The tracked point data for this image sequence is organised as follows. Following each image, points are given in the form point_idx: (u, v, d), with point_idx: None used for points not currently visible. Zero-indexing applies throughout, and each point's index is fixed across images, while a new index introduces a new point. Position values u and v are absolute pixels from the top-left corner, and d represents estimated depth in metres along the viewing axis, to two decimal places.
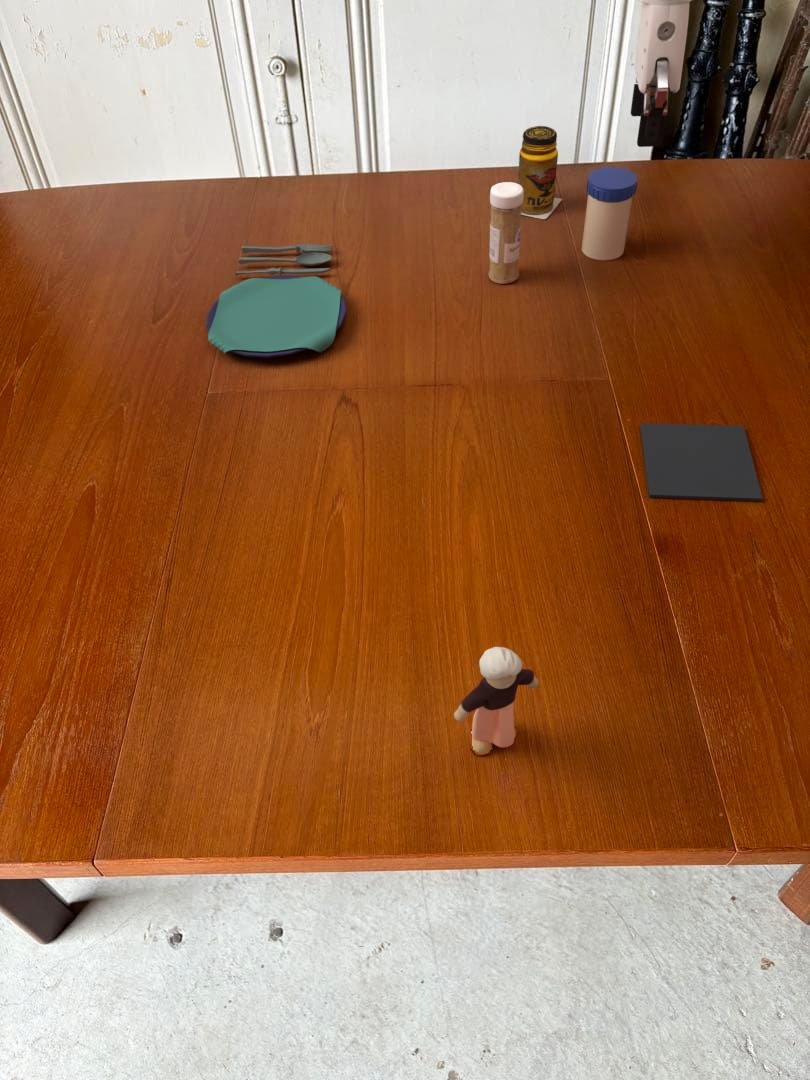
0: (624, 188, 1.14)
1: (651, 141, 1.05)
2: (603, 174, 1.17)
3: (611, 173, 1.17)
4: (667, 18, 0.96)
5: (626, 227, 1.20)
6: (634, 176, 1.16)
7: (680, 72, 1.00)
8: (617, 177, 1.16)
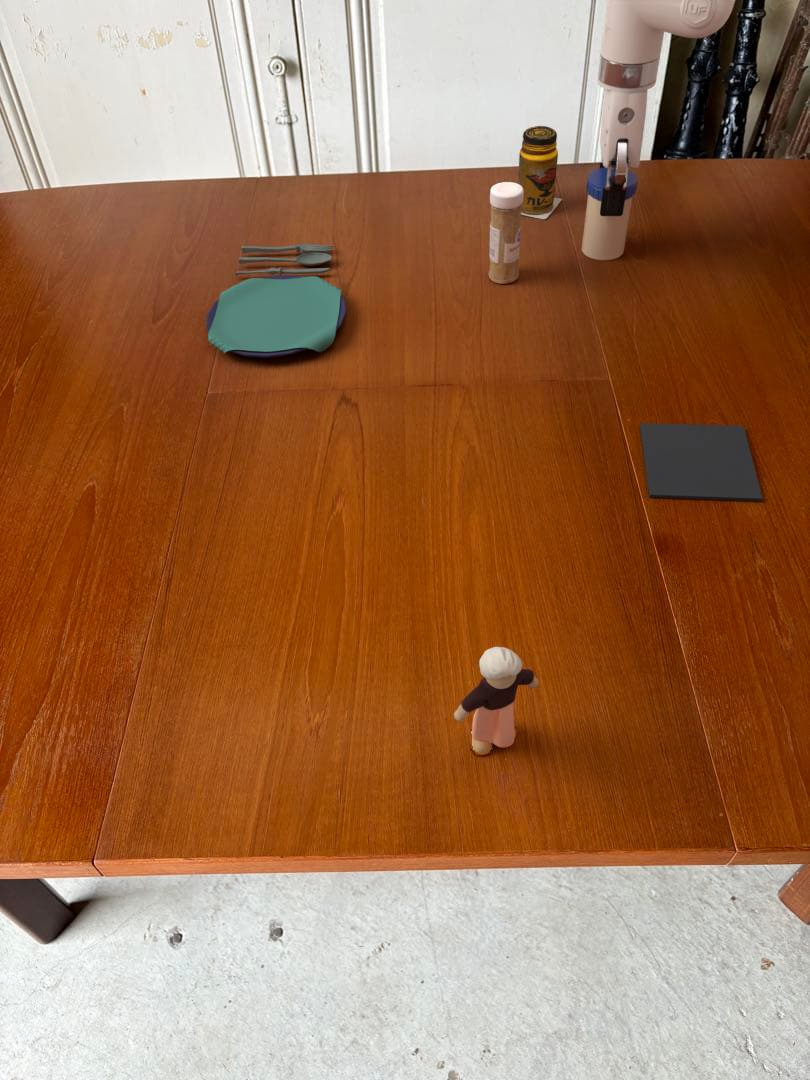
0: None
1: (612, 212, 1.15)
2: (603, 174, 1.17)
3: (611, 173, 1.17)
4: (627, 104, 1.05)
5: (626, 227, 1.20)
6: (634, 176, 1.16)
7: (639, 151, 1.09)
8: None
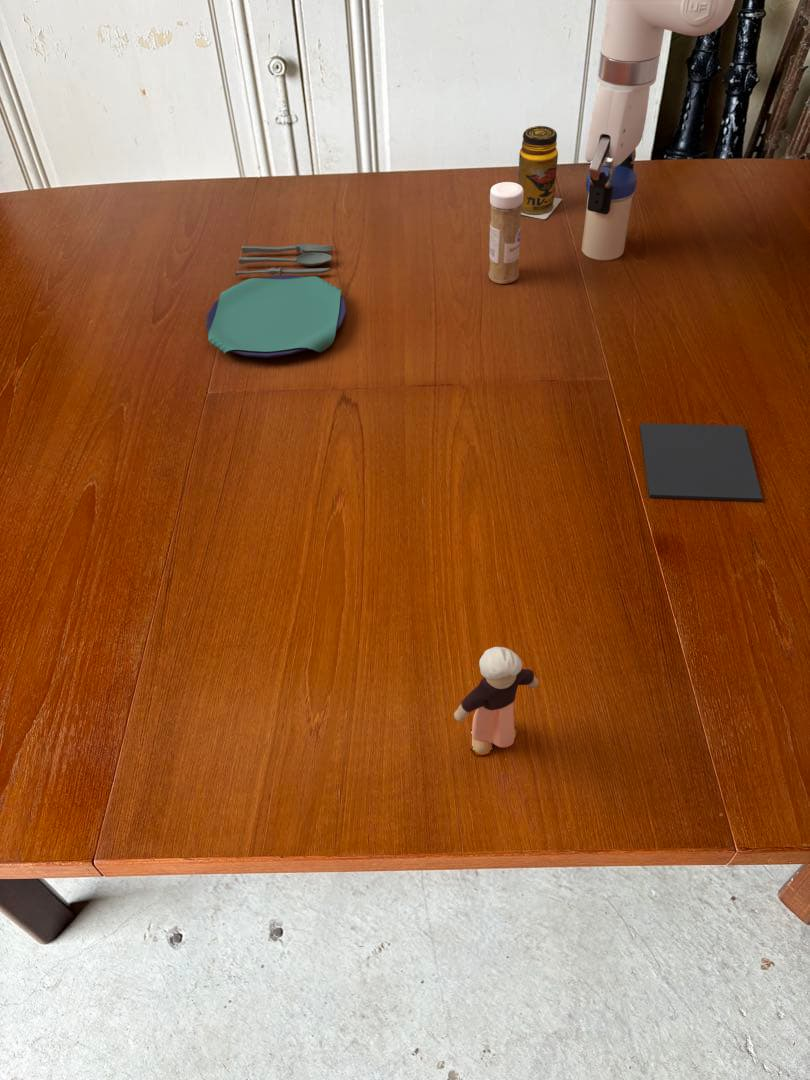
0: None
1: None
2: (617, 180, 1.15)
3: None
4: None
5: (626, 227, 1.20)
6: None
7: None
8: (607, 174, 1.17)
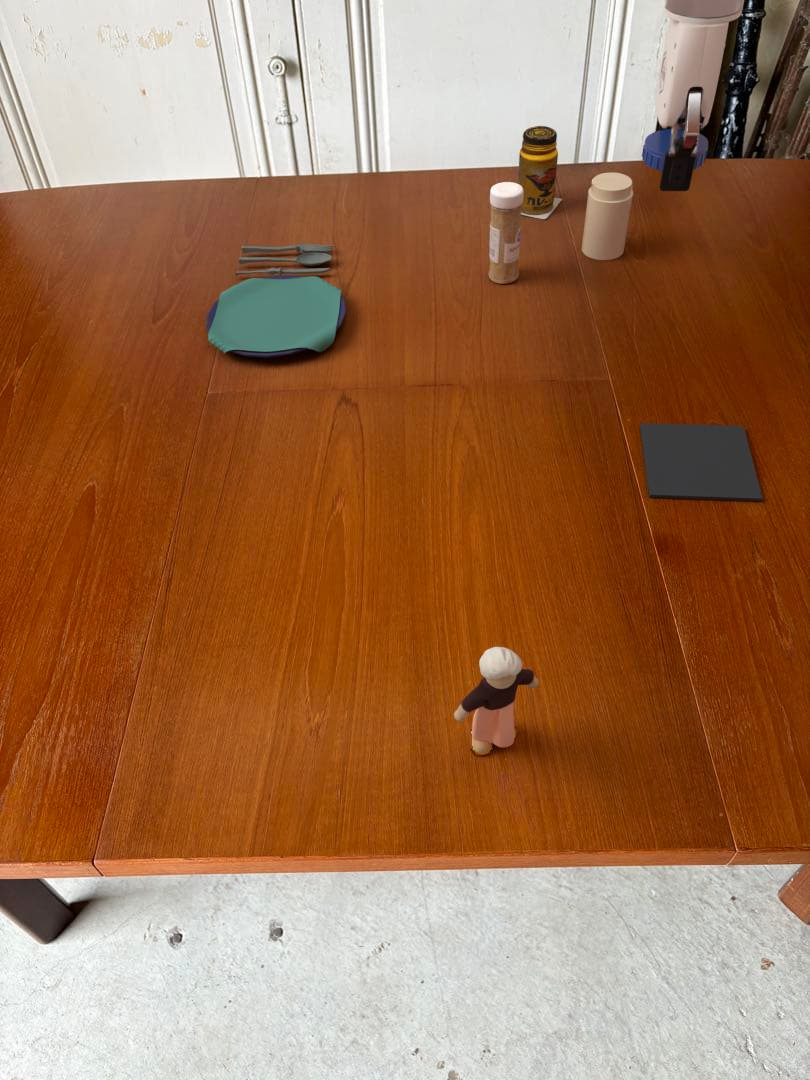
0: (660, 131, 0.94)
1: None
2: None
3: None
4: None
5: (626, 227, 1.20)
6: (648, 143, 0.91)
7: None
8: None
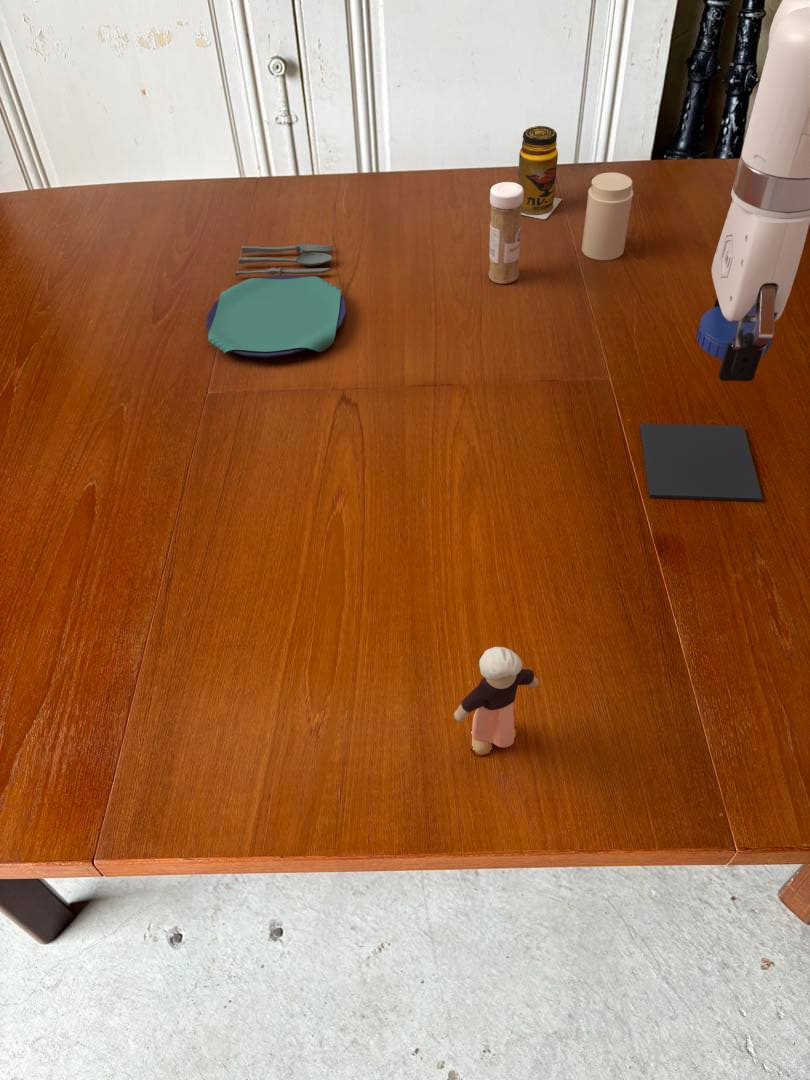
0: (717, 307, 0.82)
1: None
2: (752, 330, 0.79)
3: None
4: None
5: (626, 227, 1.20)
6: (705, 326, 0.79)
7: (719, 244, 0.78)
8: (729, 324, 0.79)
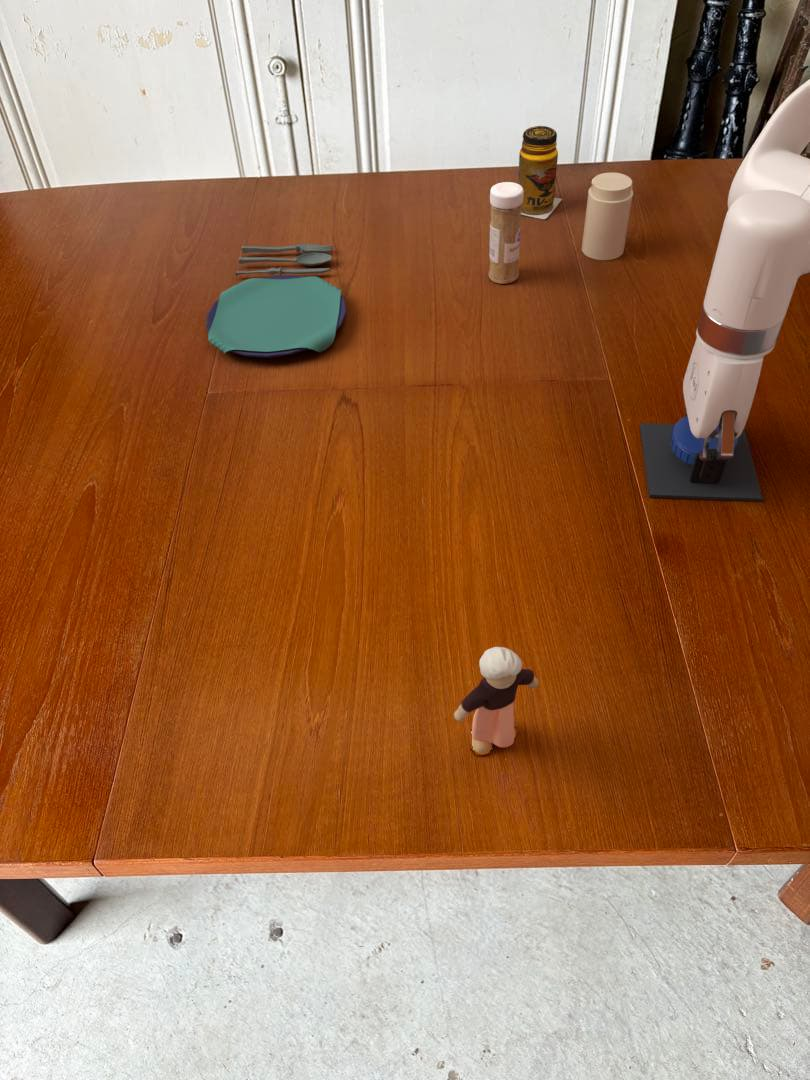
0: None
1: None
2: None
3: None
4: None
5: (626, 227, 1.20)
6: (677, 435, 0.90)
7: (689, 364, 0.89)
8: None
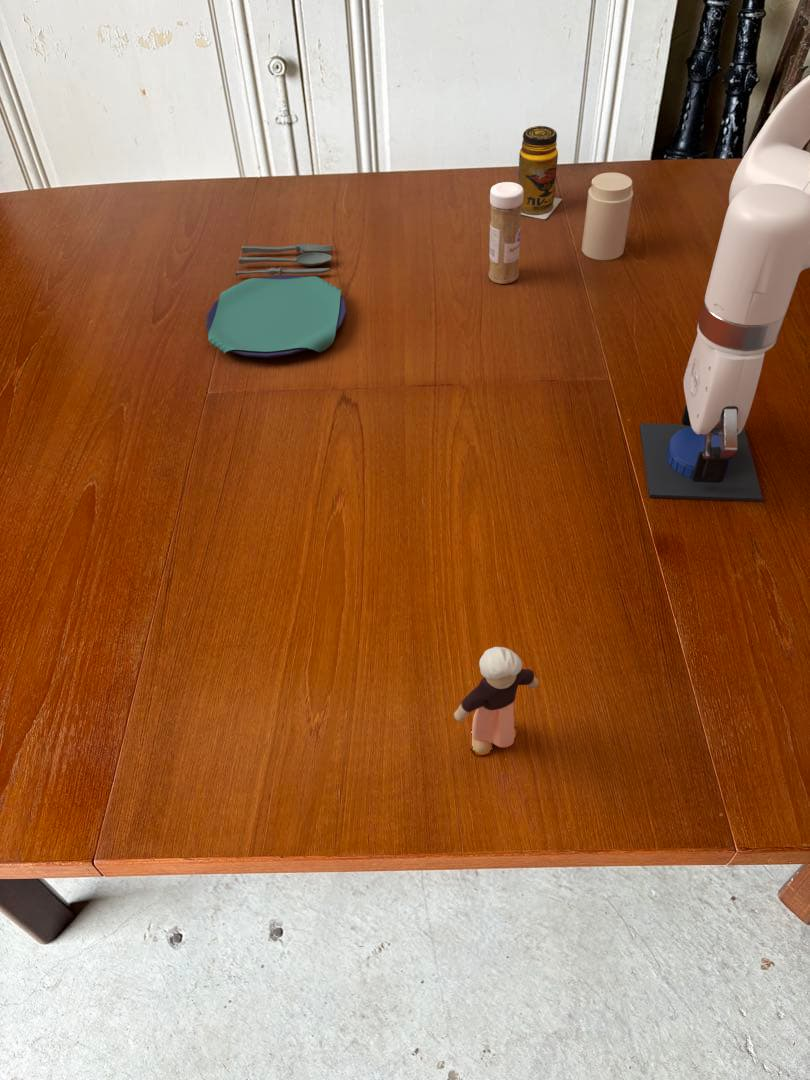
0: (685, 429, 0.94)
1: None
2: None
3: None
4: None
5: (626, 227, 1.20)
6: (674, 447, 0.92)
7: None
8: (695, 446, 0.92)
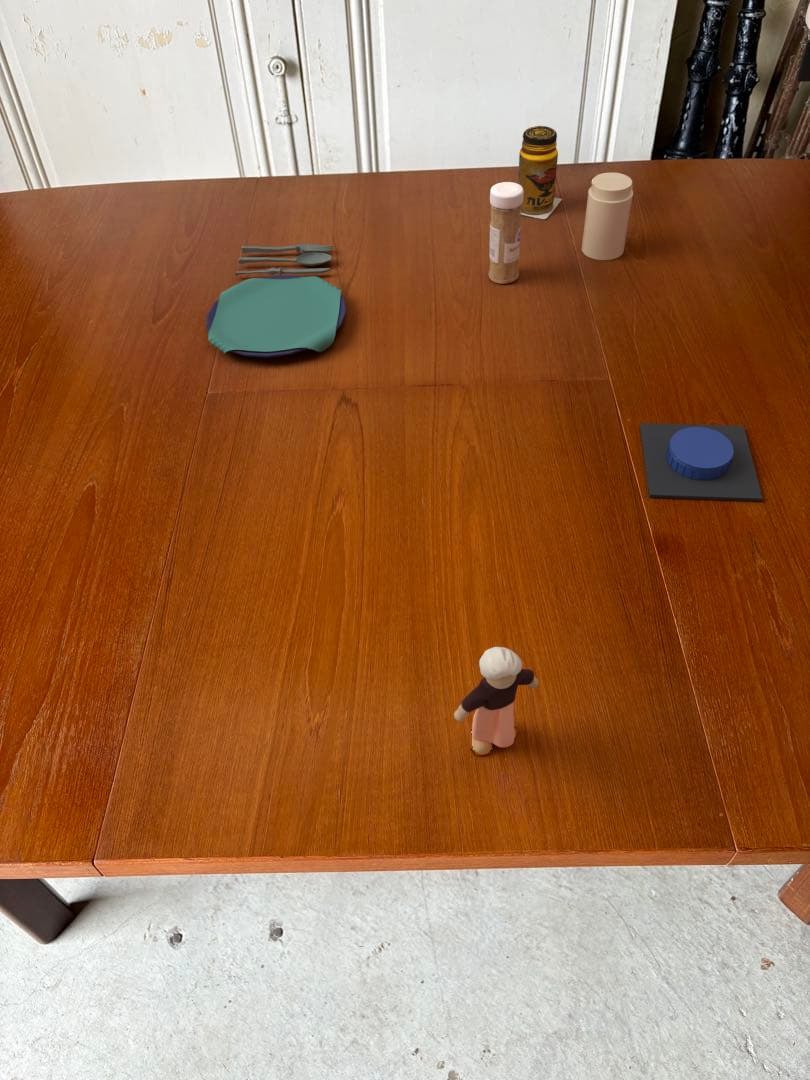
0: (685, 429, 0.94)
1: None
2: (714, 453, 0.91)
3: (704, 454, 0.91)
4: None
5: (626, 227, 1.20)
6: (674, 447, 0.92)
7: None
8: (695, 446, 0.92)
